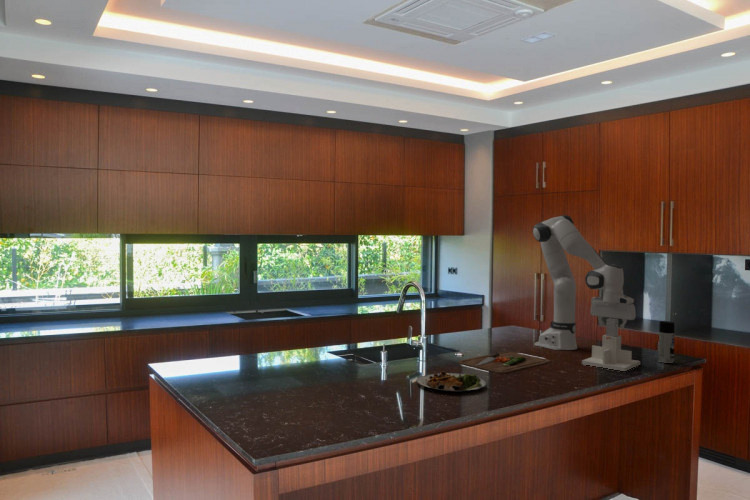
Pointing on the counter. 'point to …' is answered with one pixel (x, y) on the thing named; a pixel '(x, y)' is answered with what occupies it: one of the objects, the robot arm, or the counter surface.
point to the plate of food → (452, 381)
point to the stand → (611, 355)
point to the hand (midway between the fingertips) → (612, 327)
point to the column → (612, 327)
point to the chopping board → (503, 362)
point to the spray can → (666, 342)
